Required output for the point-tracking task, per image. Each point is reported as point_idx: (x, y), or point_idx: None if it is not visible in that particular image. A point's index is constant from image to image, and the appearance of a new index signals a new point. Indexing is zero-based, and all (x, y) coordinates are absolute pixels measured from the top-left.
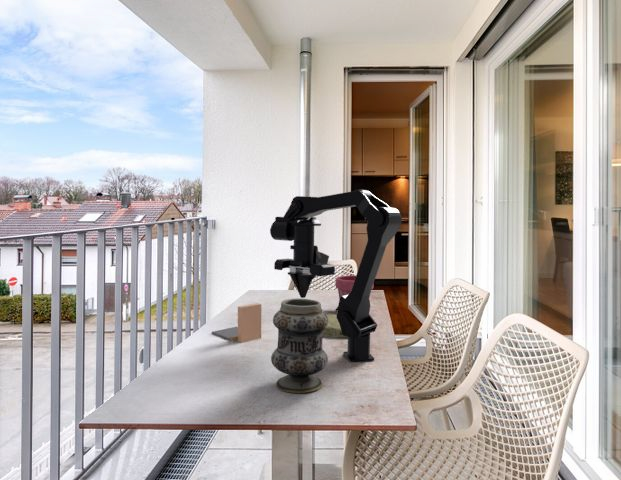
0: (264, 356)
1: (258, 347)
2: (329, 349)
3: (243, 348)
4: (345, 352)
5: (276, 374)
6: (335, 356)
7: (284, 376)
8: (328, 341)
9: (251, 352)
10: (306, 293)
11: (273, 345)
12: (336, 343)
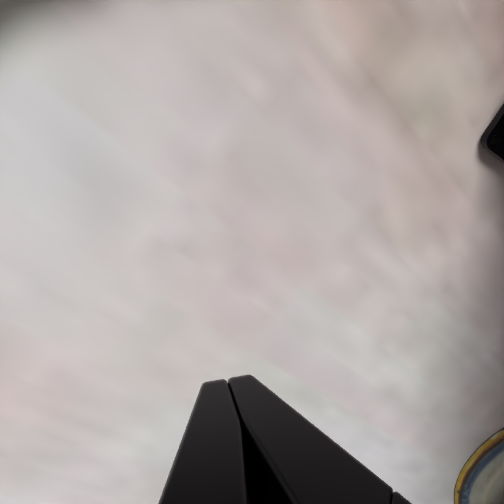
0: None
1: (87, 433)
2: (373, 144)
3: (57, 494)
4: (499, 142)
5: (413, 494)
6: (464, 201)
7: (468, 501)
8: (254, 15)
9: (141, 485)
10: (288, 412)
11: (102, 358)
12: (325, 5)
